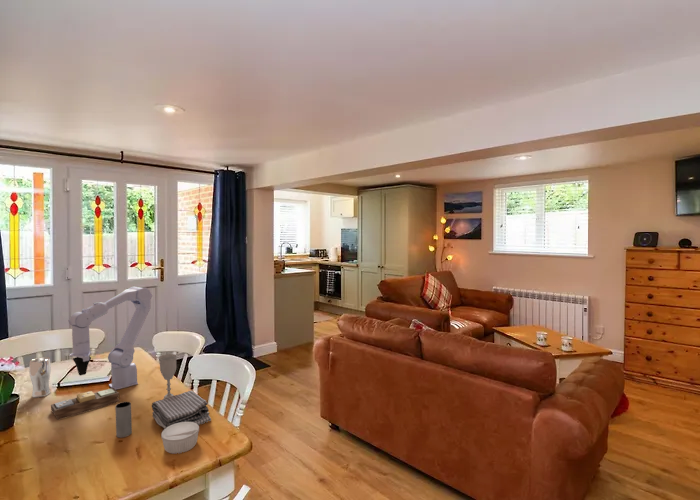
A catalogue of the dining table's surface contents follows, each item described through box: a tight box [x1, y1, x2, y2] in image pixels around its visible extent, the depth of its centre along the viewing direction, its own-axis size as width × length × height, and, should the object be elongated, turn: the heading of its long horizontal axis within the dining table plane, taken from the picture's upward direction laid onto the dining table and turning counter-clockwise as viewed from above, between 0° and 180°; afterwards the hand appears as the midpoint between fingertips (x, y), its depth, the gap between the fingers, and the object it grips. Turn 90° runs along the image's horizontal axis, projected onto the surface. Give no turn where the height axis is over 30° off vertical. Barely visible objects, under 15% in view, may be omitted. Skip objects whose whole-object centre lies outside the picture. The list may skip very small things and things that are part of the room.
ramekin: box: [161, 422, 200, 455], centre depth 124 cm, size 11×11×5 cm
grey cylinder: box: [114, 401, 133, 439], centre depth 131 cm, size 4×4×10 cm
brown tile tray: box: [50, 388, 120, 421], centre depth 152 cm, size 21×11×3 cm, turn 137°
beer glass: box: [28, 356, 52, 399], centre depth 162 cm, size 7×7×15 cm
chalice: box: [157, 353, 178, 399], centre depth 156 cm, size 7×7×18 cm
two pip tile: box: [76, 390, 95, 403], centre depth 152 cm, size 5×5×2 cm
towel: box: [151, 390, 212, 429], centre depth 141 cm, size 15×18×8 cm
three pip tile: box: [54, 398, 74, 409], centre depth 147 cm, size 5×5×2 cm
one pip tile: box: [96, 387, 115, 397], centre depth 157 cm, size 5×5×2 cm
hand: (82, 374), depth 158 cm, fingers closed
